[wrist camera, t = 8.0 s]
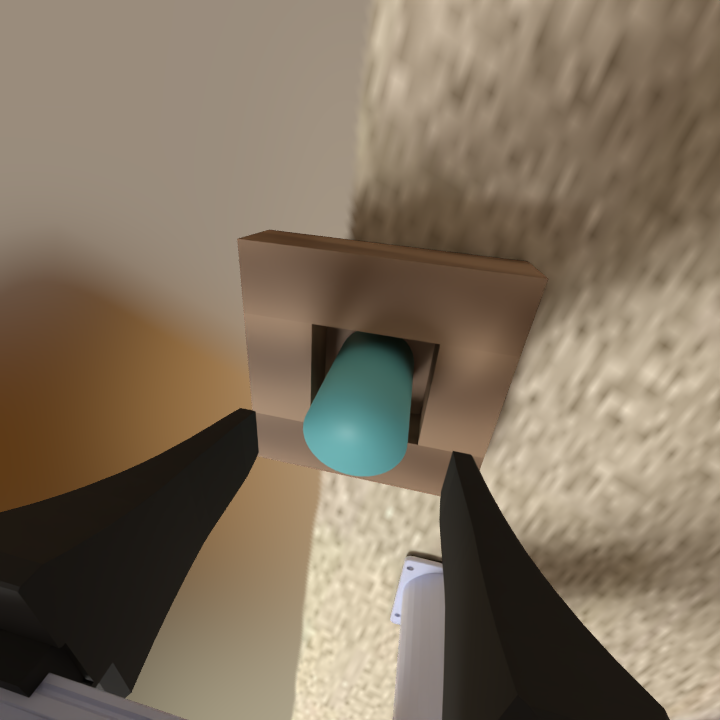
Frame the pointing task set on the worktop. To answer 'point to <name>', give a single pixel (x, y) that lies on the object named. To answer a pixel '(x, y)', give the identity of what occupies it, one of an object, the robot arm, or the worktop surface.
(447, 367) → the socket block
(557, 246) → the worktop surface
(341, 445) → the teal pin
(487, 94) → the worktop surface
